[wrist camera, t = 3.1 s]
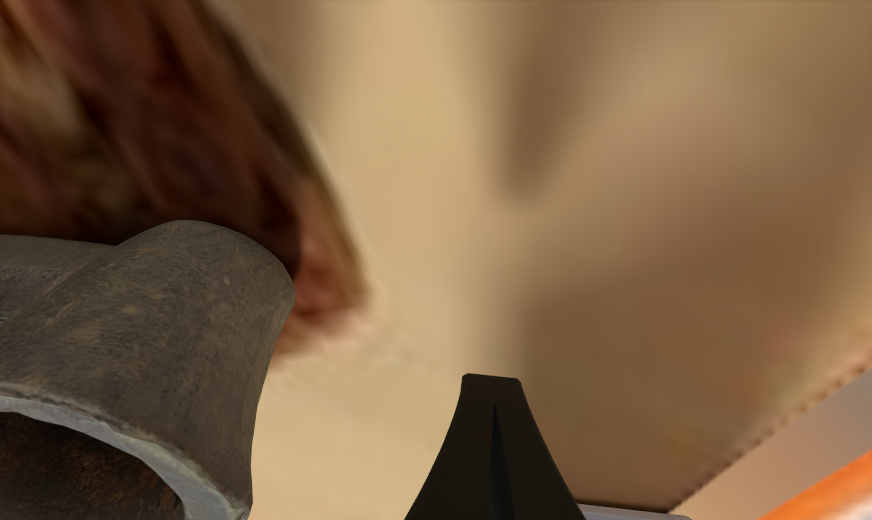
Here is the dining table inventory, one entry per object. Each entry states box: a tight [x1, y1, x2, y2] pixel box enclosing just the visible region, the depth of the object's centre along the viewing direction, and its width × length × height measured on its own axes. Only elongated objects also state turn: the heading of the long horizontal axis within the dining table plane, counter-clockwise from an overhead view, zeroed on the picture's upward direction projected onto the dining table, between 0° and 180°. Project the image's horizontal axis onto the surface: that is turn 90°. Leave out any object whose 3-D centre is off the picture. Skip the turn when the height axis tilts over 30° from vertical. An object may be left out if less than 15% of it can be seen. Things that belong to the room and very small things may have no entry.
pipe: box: [0, 220, 296, 520], centre depth 13 cm, size 6×13×8 cm, turn 86°
